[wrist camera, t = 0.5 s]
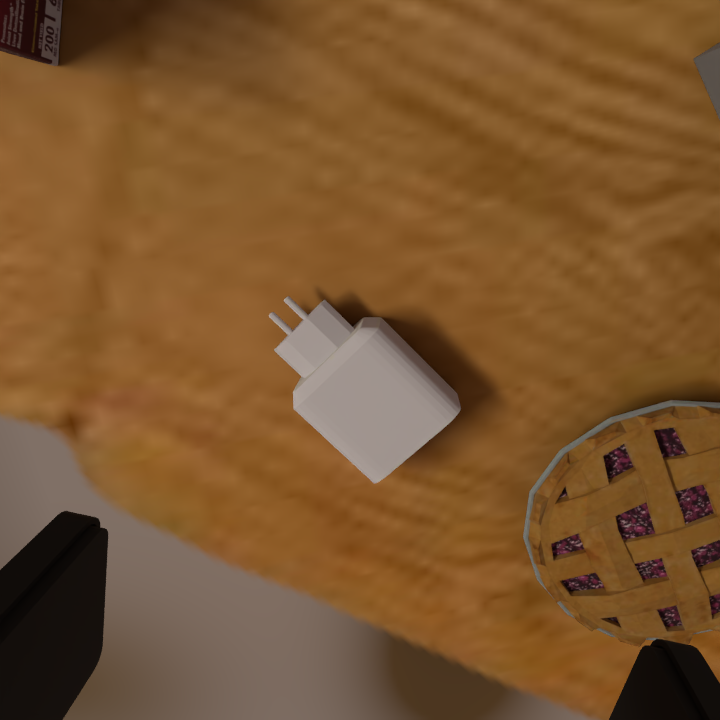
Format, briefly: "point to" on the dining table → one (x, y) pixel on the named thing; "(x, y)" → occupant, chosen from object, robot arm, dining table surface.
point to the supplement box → (31, 29)
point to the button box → (711, 73)
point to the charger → (364, 388)
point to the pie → (634, 524)
